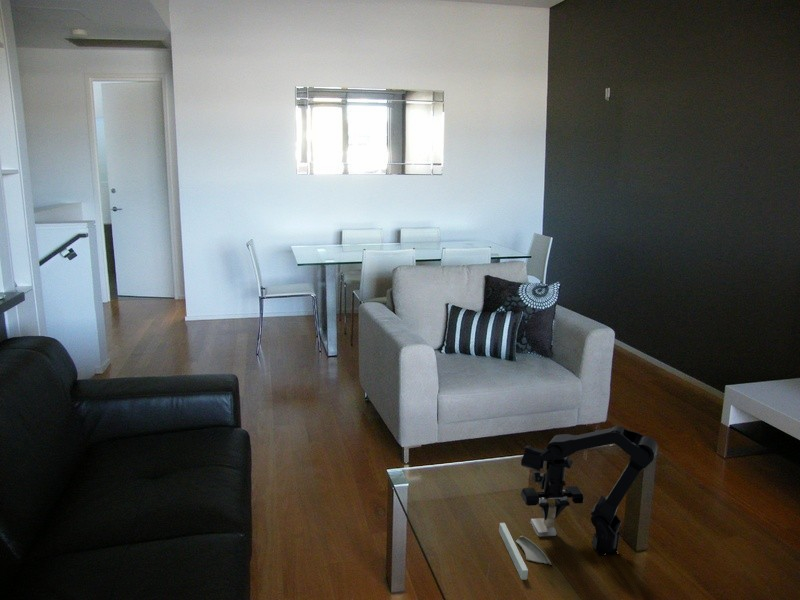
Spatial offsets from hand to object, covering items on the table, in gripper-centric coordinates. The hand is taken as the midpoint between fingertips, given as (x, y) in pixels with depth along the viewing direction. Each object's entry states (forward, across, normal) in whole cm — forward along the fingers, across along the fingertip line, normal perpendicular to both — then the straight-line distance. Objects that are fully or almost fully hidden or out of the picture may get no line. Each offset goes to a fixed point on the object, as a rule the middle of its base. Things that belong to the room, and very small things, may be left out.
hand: (549, 519), depth 206 cm
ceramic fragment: (+4, +9, +11) cm, 15 cm away
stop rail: (+4, +15, +11) cm, 19 cm away
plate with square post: (+4, +2, 0) cm, 4 cm away
